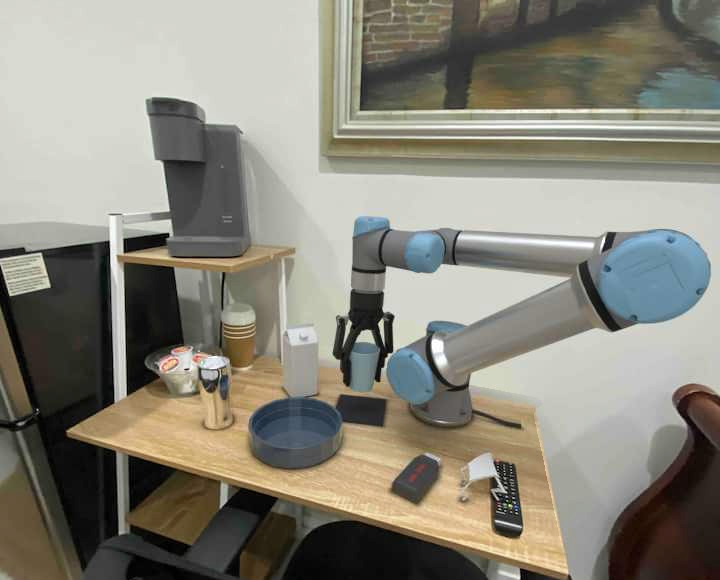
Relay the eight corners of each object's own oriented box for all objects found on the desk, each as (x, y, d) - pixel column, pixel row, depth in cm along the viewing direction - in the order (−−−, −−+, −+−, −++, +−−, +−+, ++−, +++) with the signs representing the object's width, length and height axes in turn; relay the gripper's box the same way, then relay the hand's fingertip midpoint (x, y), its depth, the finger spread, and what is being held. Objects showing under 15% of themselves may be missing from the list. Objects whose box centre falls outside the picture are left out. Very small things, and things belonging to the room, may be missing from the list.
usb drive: (391, 491, 71) (392, 479, 70) (420, 458, 81) (422, 447, 80) (416, 504, 68) (418, 492, 68) (444, 468, 78) (445, 457, 77)
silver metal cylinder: (203, 433, 85) (196, 370, 79) (202, 416, 91) (195, 357, 85) (236, 427, 87) (232, 366, 82) (233, 411, 93) (229, 354, 88)
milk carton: (283, 387, 105) (282, 321, 99) (307, 383, 109) (308, 318, 102) (291, 399, 100) (291, 330, 93) (317, 394, 103) (318, 326, 96)
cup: (382, 392, 93) (385, 351, 89) (353, 397, 90) (355, 356, 86) (369, 378, 99) (371, 340, 96) (341, 382, 96) (342, 343, 93)
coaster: (385, 400, 102) (385, 399, 102) (382, 426, 91) (382, 424, 90) (340, 395, 103) (340, 394, 103) (331, 420, 92) (331, 418, 92)
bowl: (347, 420, 92) (348, 402, 90) (331, 476, 74) (332, 454, 72) (268, 411, 94) (267, 392, 92) (234, 463, 76) (232, 441, 74)
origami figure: (503, 515, 67) (508, 493, 65) (454, 500, 70) (458, 478, 68) (505, 472, 78) (510, 452, 76) (463, 461, 80) (466, 441, 79)
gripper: (399, 283, 93) (391, 370, 101) (318, 287, 85) (317, 380, 94) (415, 291, 87) (405, 383, 95) (329, 296, 79) (326, 395, 87)
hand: (361, 381), depth 94 cm, fingers closed on cup, 7 cm apart
